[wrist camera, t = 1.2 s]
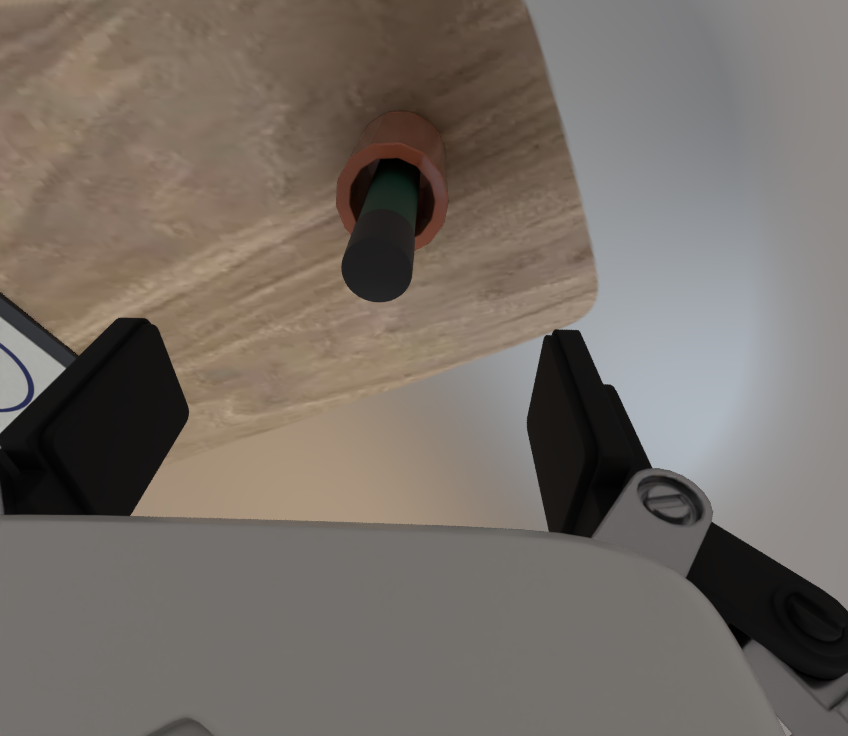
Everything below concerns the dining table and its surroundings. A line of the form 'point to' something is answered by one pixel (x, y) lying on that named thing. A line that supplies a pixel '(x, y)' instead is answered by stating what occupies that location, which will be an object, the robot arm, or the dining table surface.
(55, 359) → the target board
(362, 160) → the pen pot
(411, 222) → the marker
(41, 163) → the dining table surface
